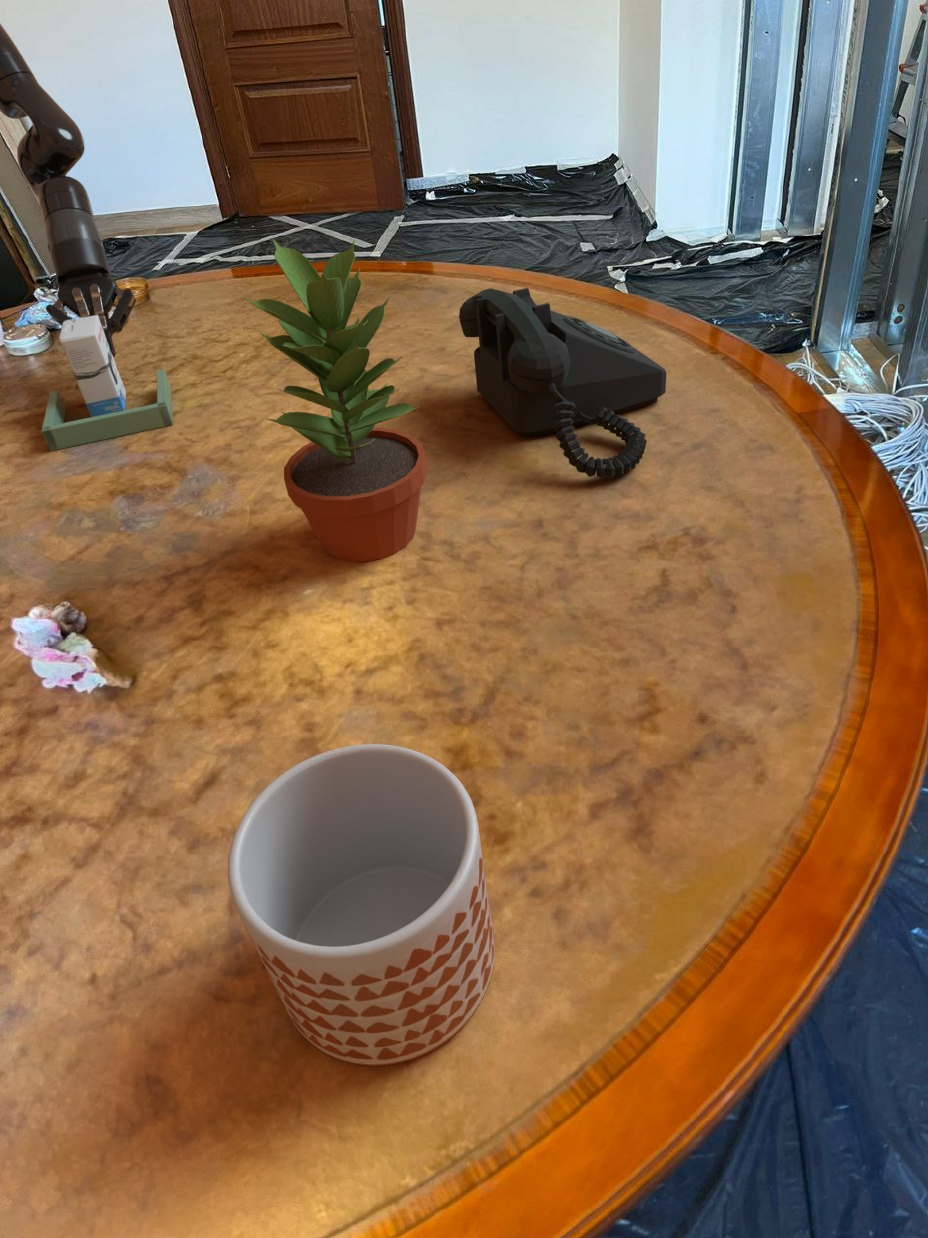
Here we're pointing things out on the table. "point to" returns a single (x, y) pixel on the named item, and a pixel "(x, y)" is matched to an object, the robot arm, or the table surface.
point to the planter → (367, 901)
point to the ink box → (93, 365)
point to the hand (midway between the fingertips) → (106, 359)
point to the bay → (106, 420)
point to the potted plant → (345, 418)
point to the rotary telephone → (559, 375)
